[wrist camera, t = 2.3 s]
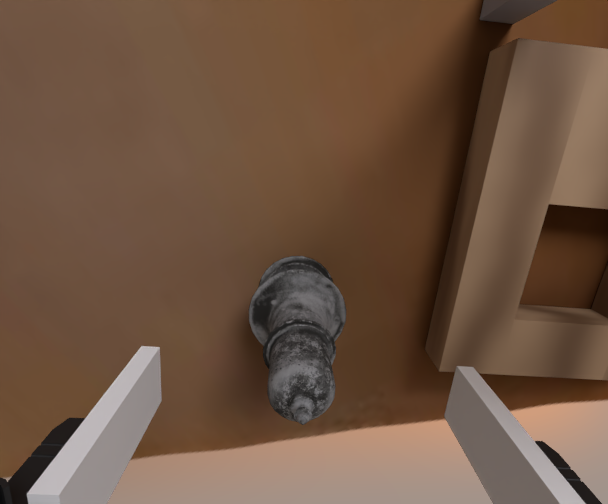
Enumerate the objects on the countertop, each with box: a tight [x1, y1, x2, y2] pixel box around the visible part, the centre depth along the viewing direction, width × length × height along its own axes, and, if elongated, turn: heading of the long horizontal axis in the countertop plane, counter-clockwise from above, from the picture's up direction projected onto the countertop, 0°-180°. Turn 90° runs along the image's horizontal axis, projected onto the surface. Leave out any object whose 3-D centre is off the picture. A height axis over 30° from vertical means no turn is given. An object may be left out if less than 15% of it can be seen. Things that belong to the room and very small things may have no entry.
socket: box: [425, 38, 608, 380], centre depth 22 cm, size 16×20×3 cm
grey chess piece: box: [249, 256, 346, 425], centre depth 18 cm, size 6×6×12 cm
